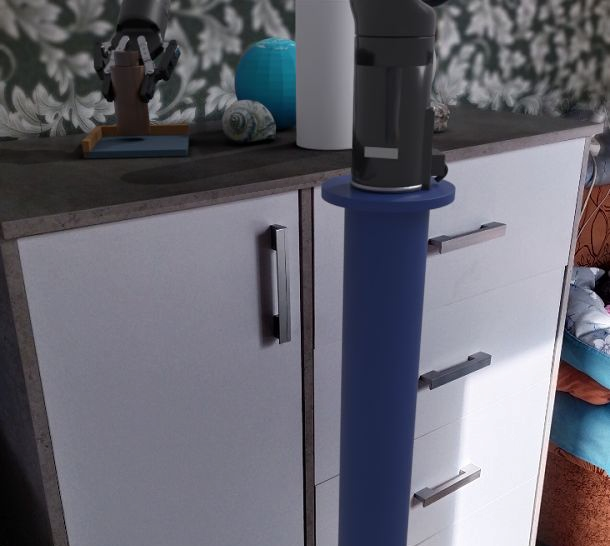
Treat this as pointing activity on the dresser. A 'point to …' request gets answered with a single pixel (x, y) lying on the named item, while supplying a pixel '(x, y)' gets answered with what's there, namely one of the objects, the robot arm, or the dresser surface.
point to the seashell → (248, 122)
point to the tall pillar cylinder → (324, 74)
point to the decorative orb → (270, 79)
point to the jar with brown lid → (129, 95)
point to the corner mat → (137, 142)
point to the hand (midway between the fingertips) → (126, 98)
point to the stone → (440, 116)
